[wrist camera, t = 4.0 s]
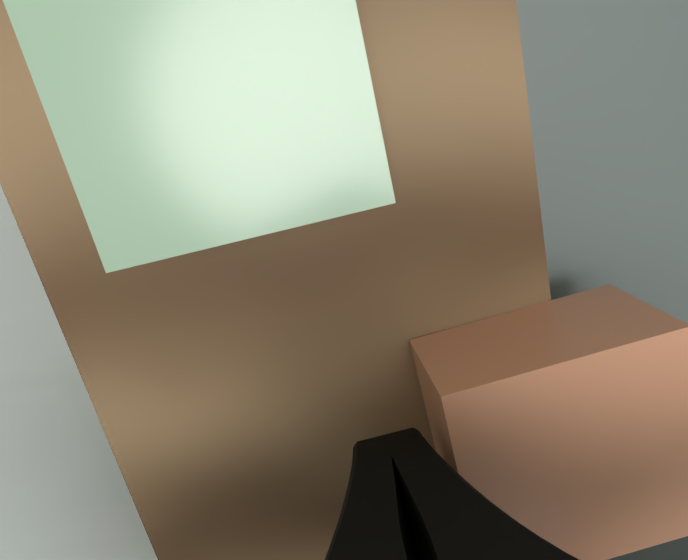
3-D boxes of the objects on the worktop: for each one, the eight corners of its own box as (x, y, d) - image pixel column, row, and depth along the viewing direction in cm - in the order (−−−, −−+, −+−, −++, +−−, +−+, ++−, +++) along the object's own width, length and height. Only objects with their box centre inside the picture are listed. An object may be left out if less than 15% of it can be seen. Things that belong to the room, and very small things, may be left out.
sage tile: (373, 182, 11) (395, 203, 8) (148, 237, 11) (106, 273, 8) (318, -76, 9) (327, -141, 7) (60, -16, 9) (-20, -61, 7)
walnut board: (550, 537, 16) (585, 594, 14) (222, 621, 16) (212, 690, 14) (436, -305, 10) (469, -403, 8) (-93, -186, 10) (-185, -257, 8)
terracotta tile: (628, 456, 13) (705, 531, 11) (449, 508, 13) (485, 595, 11) (609, 283, 12) (691, 325, 9) (409, 340, 12) (440, 396, 9)
